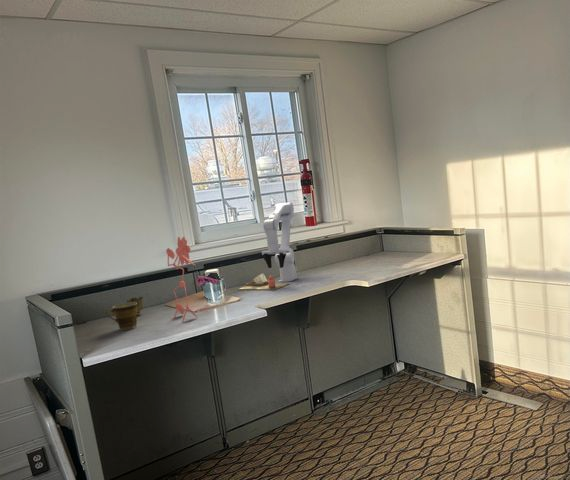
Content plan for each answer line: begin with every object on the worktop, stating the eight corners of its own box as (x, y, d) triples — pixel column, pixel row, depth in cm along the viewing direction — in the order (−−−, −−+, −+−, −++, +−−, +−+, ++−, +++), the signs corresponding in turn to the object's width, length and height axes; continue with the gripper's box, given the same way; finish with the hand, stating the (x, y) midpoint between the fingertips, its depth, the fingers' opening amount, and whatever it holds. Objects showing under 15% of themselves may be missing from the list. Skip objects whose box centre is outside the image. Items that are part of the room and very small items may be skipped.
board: (254, 284, 282) (254, 280, 282) (289, 284, 269) (288, 280, 269) (239, 290, 271) (238, 286, 271) (274, 290, 258) (273, 286, 258)
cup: (126, 317, 234) (123, 300, 233) (133, 313, 241) (130, 297, 241) (141, 316, 233) (138, 299, 232) (147, 312, 240) (145, 296, 239)
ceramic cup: (137, 323, 219) (134, 300, 218) (142, 327, 210) (139, 304, 209) (106, 330, 213) (103, 307, 212) (110, 335, 204) (106, 310, 203)
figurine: (189, 324, 206) (179, 238, 203) (164, 316, 227) (155, 238, 224) (222, 316, 215) (213, 233, 212) (195, 309, 236) (187, 234, 233)
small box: (209, 294, 269) (206, 269, 268) (221, 292, 269) (218, 268, 268) (207, 297, 261) (204, 272, 260) (219, 295, 261) (216, 270, 260)
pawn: (271, 287, 264) (269, 274, 264) (276, 286, 262) (275, 274, 262) (267, 288, 261) (265, 276, 261) (272, 288, 259) (271, 275, 259)
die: (257, 277, 278) (263, 273, 276) (261, 284, 277) (267, 280, 275) (253, 278, 273) (259, 274, 271) (257, 286, 273) (263, 282, 271)
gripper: (257, 243, 267) (260, 269, 268) (279, 242, 259) (283, 268, 260) (265, 241, 273) (268, 266, 274) (287, 240, 264) (290, 266, 266)
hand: (275, 267), depth 267 cm, fingers open, 7 cm apart
